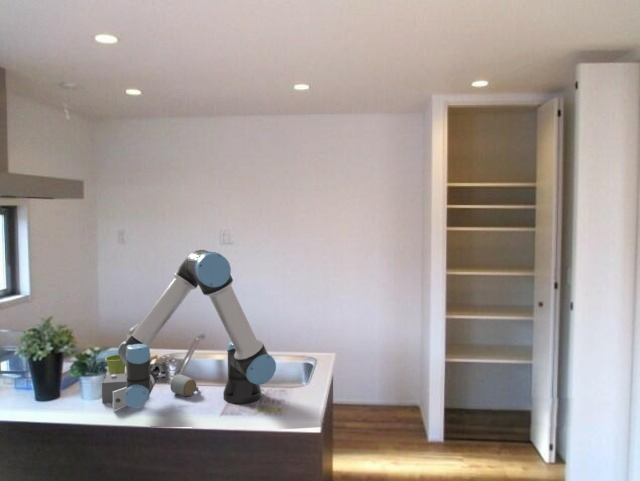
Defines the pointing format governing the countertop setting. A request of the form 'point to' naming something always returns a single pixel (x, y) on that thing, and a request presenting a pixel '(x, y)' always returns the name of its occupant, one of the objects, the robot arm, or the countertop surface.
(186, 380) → the ceramic mug
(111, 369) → the plant pot
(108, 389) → the box
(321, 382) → the countertop surface
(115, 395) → the side door
